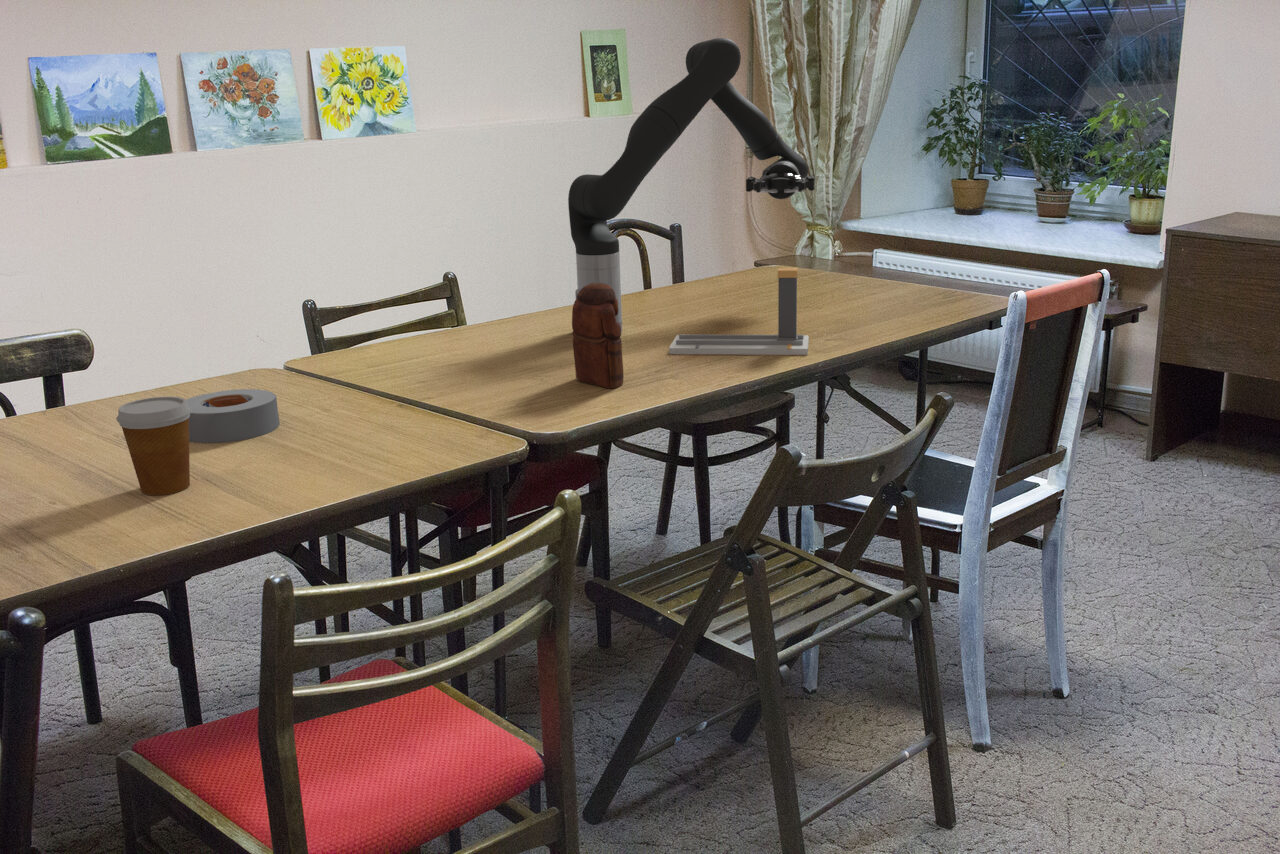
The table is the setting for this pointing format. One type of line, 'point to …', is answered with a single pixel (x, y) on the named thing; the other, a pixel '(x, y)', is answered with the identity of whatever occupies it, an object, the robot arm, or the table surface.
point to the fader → (787, 304)
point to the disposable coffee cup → (158, 442)
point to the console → (738, 345)
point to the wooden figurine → (597, 336)
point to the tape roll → (232, 415)
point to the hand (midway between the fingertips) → (779, 186)
